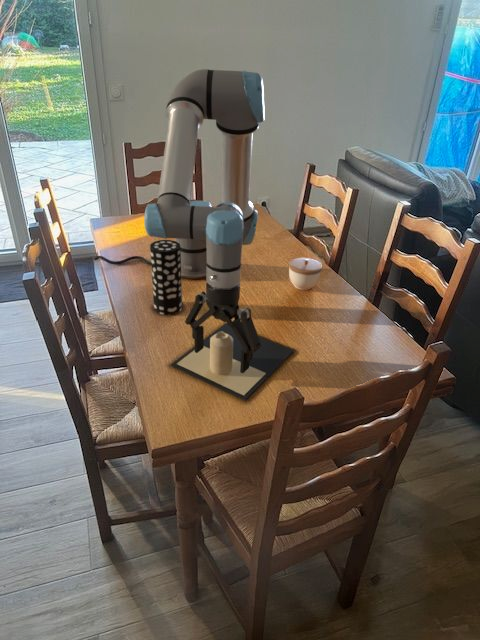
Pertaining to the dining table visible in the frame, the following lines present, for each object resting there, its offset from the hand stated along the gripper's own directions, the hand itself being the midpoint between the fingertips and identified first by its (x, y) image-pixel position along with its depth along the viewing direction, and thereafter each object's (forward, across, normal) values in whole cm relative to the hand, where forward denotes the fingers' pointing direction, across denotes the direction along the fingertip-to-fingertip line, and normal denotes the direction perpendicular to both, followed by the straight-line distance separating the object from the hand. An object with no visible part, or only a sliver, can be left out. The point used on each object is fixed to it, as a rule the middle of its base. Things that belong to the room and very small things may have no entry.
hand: (221, 360), depth 114 cm
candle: (+3, 0, 0) cm, 3 cm away
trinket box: (+3, -4, +53) cm, 53 cm away
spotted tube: (+3, -30, +15) cm, 34 cm away
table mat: (+3, 0, +6) cm, 7 cm away
